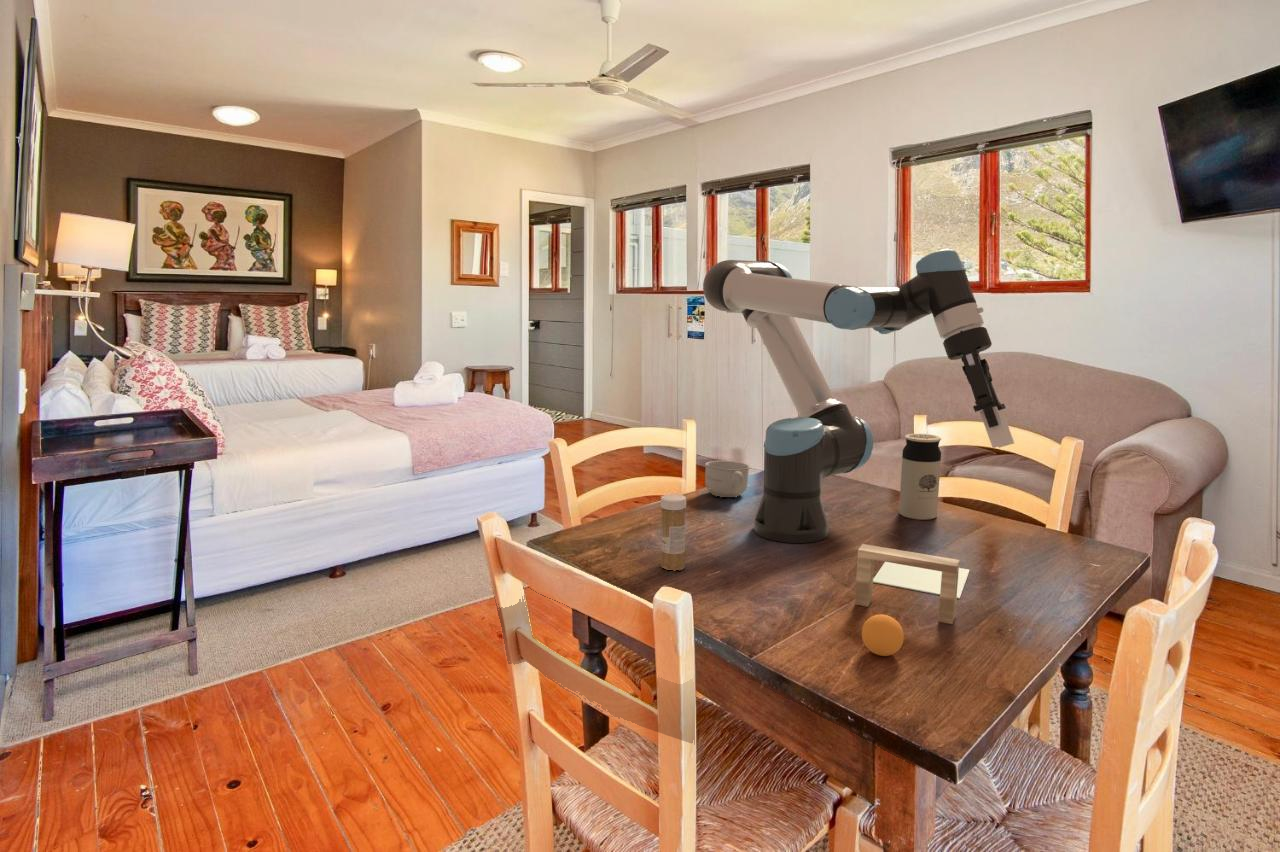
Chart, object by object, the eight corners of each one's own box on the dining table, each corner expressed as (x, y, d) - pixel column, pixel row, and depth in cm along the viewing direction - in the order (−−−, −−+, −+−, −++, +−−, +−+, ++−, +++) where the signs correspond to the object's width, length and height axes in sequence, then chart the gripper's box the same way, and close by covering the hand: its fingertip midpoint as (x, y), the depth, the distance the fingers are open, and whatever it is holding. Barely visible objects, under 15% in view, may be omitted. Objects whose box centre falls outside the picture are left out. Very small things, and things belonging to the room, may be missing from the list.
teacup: (701, 490, 184) (701, 459, 183) (743, 488, 185) (744, 458, 184) (711, 505, 171) (711, 472, 169) (756, 504, 171) (757, 471, 170)
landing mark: (871, 582, 125) (871, 581, 125) (889, 556, 137) (889, 555, 137) (959, 598, 118) (959, 597, 118) (969, 570, 130) (969, 569, 130)
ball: (856, 657, 99) (858, 619, 98) (866, 640, 104) (868, 604, 103) (898, 667, 97) (900, 628, 96) (906, 649, 101) (908, 613, 100)
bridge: (952, 624, 109) (956, 566, 107) (855, 604, 116) (857, 549, 115) (955, 616, 112) (959, 560, 110) (859, 597, 119) (862, 544, 117)
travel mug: (895, 509, 167) (900, 432, 164) (931, 510, 166) (937, 433, 162) (902, 520, 159) (908, 439, 156) (940, 521, 158) (946, 440, 155)
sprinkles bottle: (658, 564, 134) (658, 493, 131) (682, 562, 135) (682, 492, 132) (663, 573, 129) (663, 500, 127) (688, 571, 130) (688, 499, 128)
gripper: (978, 314, 118) (1024, 438, 114) (990, 334, 139) (1029, 439, 136) (931, 331, 121) (974, 452, 118) (950, 348, 143) (987, 451, 139)
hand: (1004, 445), depth 127 cm, fingers open, 13 cm apart
